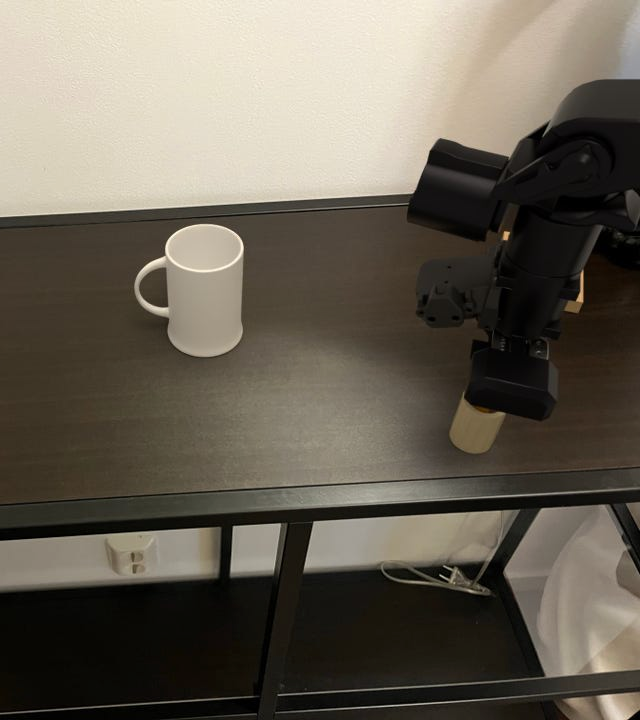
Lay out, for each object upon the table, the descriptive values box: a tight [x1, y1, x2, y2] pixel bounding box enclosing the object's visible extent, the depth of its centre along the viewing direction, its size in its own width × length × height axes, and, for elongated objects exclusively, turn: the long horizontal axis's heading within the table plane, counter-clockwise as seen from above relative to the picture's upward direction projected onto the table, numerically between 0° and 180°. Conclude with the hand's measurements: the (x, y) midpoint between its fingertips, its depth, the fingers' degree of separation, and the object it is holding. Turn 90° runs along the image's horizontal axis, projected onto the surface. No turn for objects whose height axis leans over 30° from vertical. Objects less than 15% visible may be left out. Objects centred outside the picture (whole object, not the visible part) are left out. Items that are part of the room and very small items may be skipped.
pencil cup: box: [448, 390, 507, 455], centre depth 71 cm, size 4×4×6 cm
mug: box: [134, 223, 245, 358], centre depth 81 cm, size 12×8×12 cm
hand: (489, 390), depth 68 cm, fingers closed
